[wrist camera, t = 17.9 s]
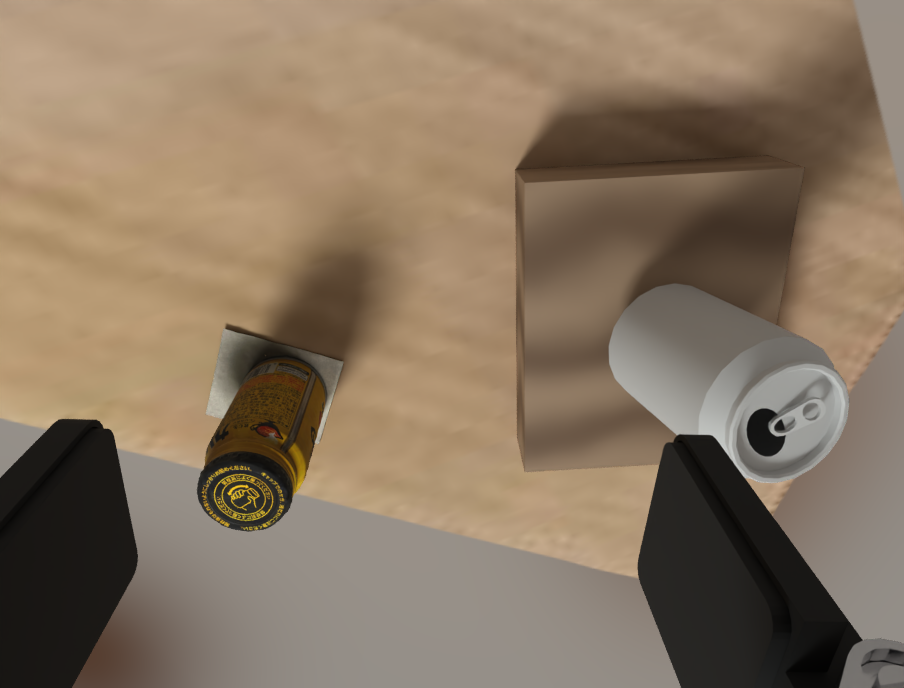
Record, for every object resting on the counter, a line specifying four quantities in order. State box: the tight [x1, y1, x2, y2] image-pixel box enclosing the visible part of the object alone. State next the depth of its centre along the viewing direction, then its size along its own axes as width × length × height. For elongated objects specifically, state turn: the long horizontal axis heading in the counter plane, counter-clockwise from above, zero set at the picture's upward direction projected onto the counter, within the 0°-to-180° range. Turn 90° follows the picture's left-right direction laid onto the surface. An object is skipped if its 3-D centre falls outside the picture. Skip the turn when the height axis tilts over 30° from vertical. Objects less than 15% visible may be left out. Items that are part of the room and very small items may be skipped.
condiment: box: [197, 329, 344, 531], centre depth 41 cm, size 7×8×12 cm
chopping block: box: [515, 156, 805, 472], centre depth 43 cm, size 20×16×5 cm
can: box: [609, 283, 849, 483], centre depth 35 cm, size 8×8×12 cm
